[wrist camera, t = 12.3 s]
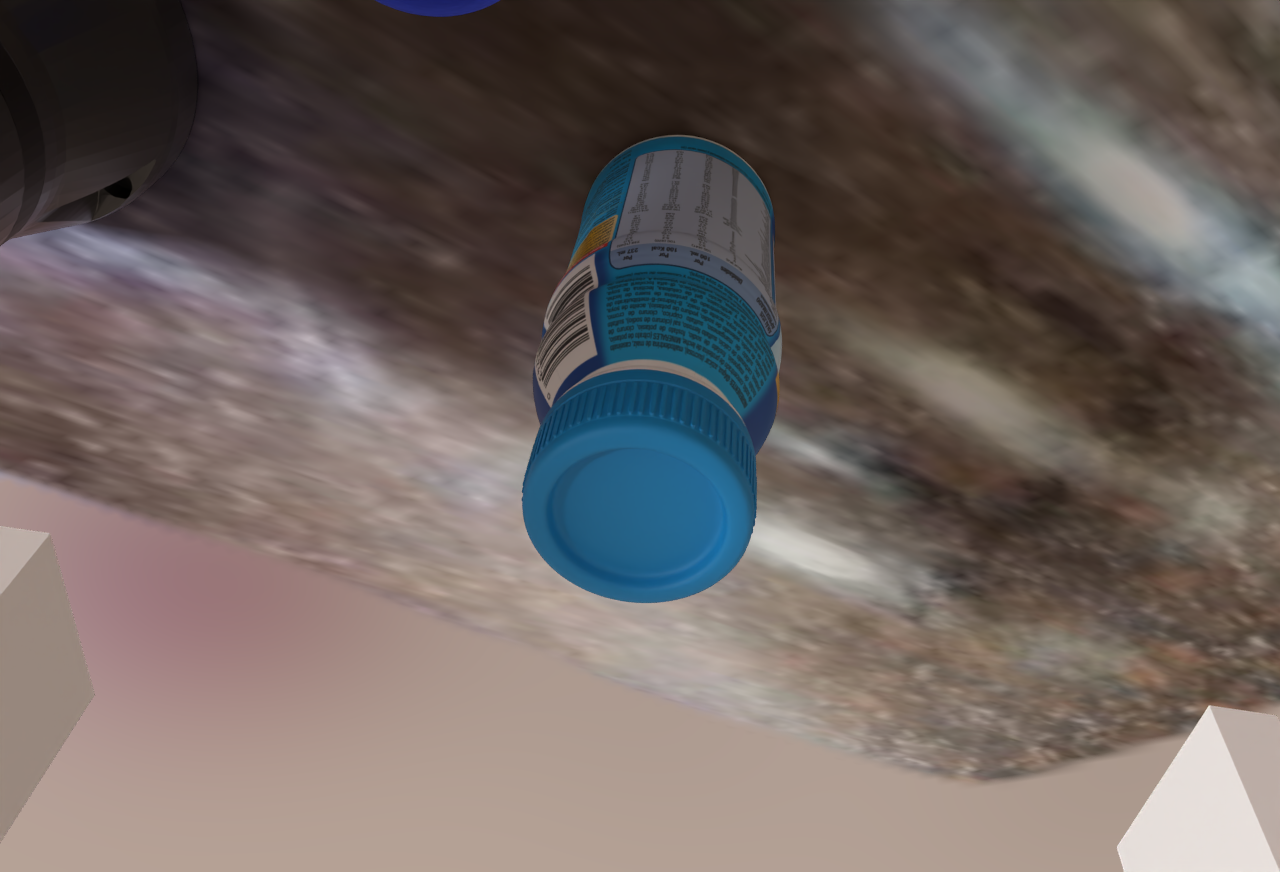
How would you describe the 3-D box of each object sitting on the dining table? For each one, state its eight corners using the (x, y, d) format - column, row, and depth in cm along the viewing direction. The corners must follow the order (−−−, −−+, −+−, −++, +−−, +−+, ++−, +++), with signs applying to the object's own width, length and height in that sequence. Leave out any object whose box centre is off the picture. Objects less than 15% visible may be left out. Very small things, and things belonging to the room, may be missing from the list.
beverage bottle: (759, 107, 43) (758, 376, 27) (792, 291, 48) (808, 614, 32) (558, 148, 45) (446, 423, 29) (609, 322, 50) (536, 642, 34)
